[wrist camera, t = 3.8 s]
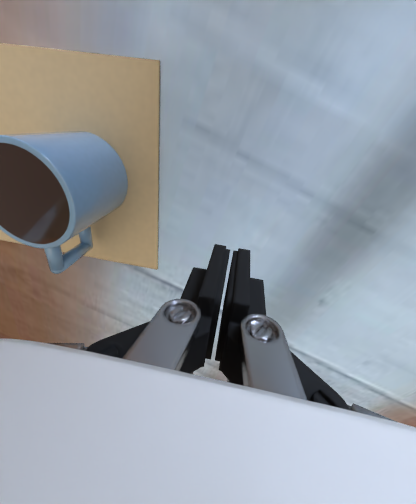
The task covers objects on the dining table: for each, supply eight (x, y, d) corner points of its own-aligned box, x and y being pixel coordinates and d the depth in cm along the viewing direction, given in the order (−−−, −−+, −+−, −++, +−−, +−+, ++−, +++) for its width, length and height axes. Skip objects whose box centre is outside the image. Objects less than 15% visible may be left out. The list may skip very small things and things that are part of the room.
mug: (44, 125, 21) (-54, 126, 14) (125, 137, 20) (63, 144, 13) (66, 235, 26) (2, 274, 19) (131, 247, 25) (89, 292, 19)
